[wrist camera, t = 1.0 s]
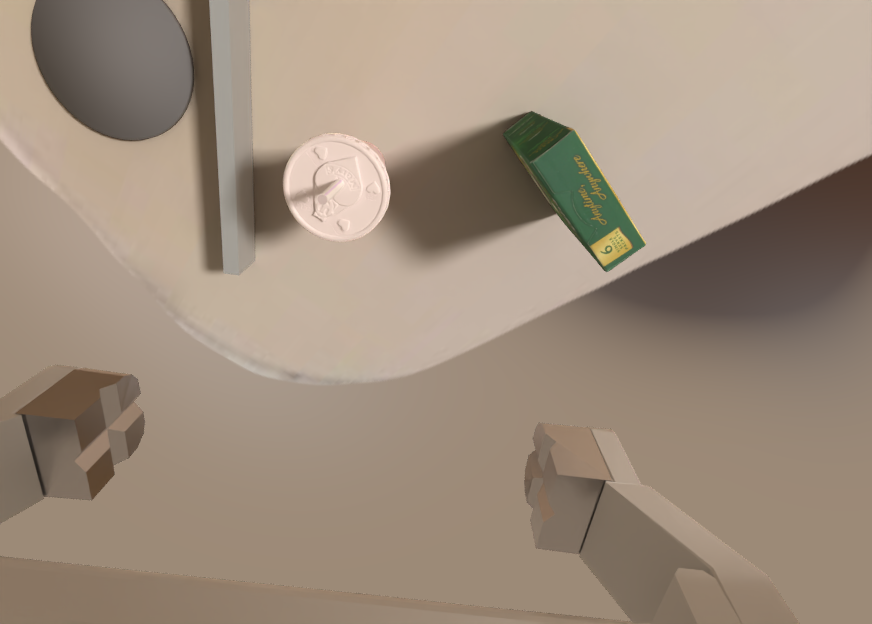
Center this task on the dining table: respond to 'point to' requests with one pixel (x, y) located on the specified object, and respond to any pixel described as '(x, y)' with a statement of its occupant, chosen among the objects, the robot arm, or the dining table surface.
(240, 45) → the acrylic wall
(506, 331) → the dining table surface
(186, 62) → the pad
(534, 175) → the coffee box
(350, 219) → the smoothie
